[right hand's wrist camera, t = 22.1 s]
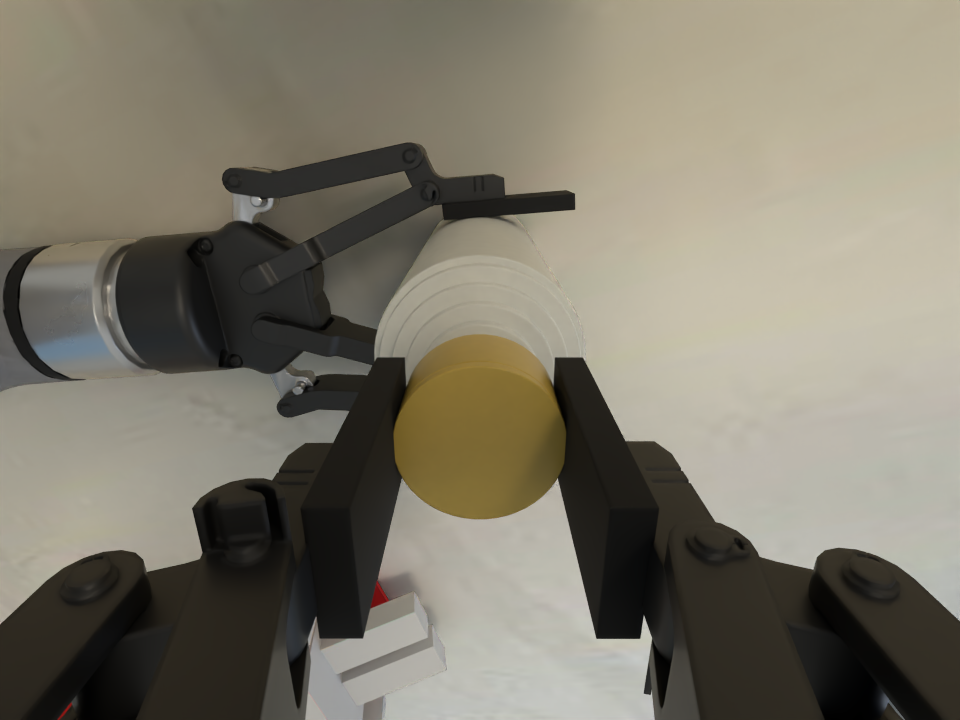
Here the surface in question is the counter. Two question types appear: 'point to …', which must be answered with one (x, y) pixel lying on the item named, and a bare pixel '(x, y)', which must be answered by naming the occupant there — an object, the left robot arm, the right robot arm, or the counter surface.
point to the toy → (371, 661)
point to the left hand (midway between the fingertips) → (571, 274)
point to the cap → (479, 428)
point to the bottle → (480, 295)
